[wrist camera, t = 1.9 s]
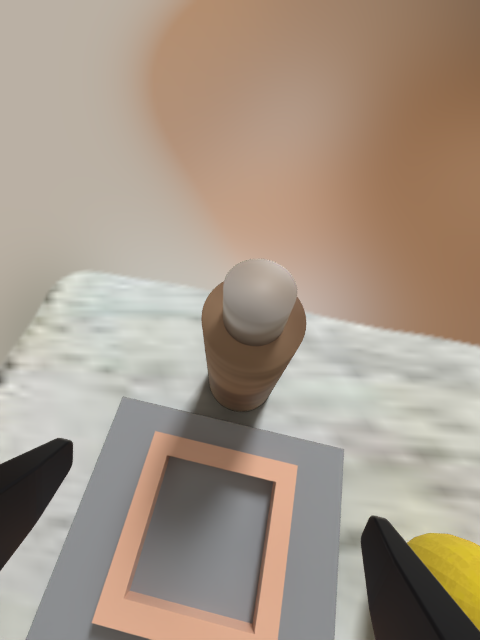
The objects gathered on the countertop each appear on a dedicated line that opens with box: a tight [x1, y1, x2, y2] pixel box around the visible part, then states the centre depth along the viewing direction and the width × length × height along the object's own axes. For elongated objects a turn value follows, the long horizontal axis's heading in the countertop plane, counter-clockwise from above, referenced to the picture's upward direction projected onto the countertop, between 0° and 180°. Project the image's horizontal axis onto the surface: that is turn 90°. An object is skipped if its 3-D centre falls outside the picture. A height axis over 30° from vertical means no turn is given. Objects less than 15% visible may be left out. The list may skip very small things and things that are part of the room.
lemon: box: [407, 533, 480, 631], centre depth 15 cm, size 6×6×8 cm
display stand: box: [26, 397, 344, 640], centre depth 18 cm, size 13×16×2 cm
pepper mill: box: [202, 259, 306, 412], centre depth 18 cm, size 5×5×13 cm
